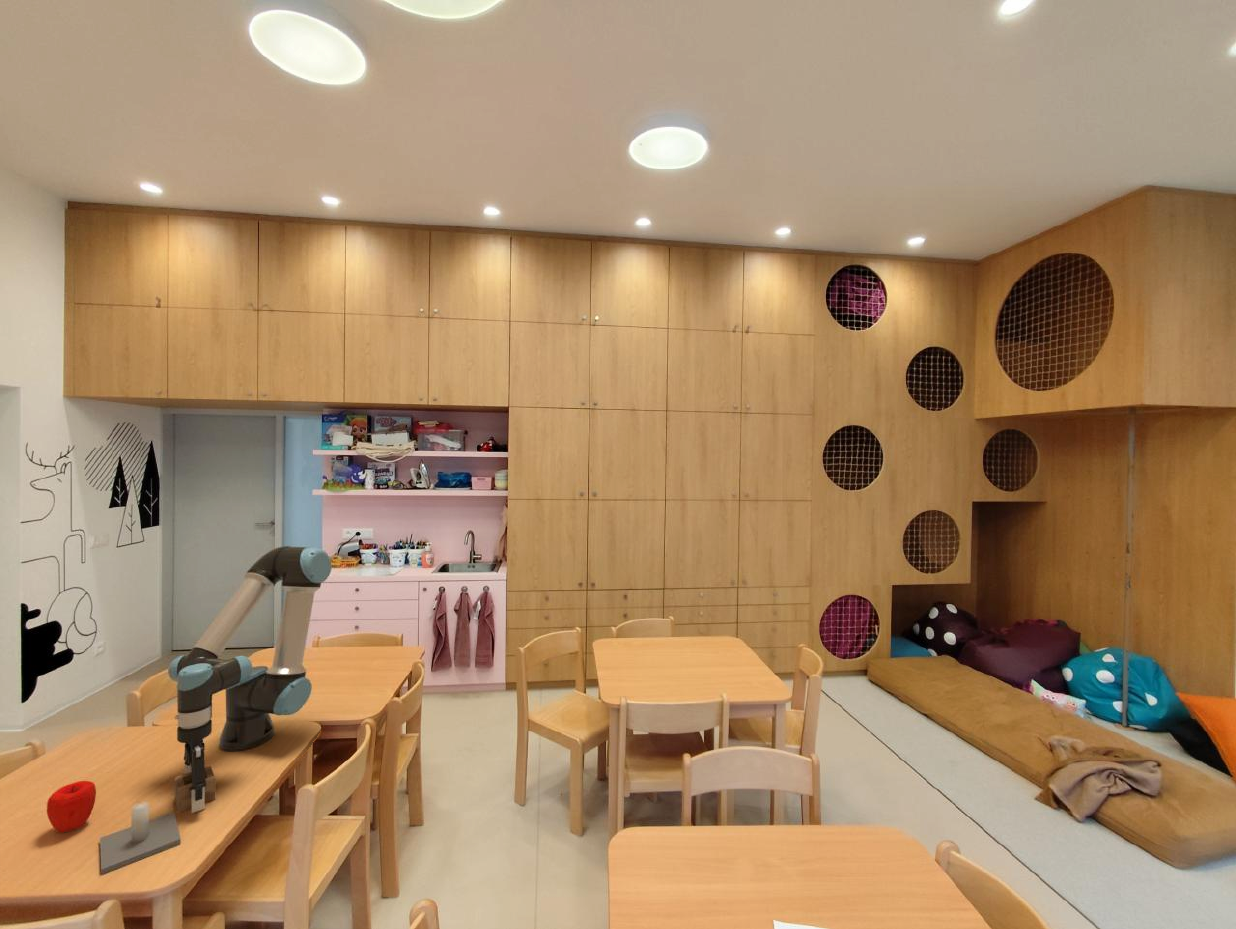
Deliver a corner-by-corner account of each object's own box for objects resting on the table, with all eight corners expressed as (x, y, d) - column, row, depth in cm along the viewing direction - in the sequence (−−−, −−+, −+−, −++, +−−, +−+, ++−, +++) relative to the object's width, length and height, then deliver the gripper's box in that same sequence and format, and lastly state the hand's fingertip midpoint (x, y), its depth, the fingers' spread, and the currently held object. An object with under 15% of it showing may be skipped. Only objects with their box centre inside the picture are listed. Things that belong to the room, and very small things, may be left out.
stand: (173, 816, 141) (173, 781, 141) (180, 843, 131) (180, 806, 131) (100, 842, 131) (100, 805, 131) (101, 874, 121) (101, 834, 121)
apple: (64, 842, 131) (64, 799, 131) (36, 838, 133) (36, 795, 132) (105, 818, 140) (105, 777, 140) (78, 814, 141) (78, 774, 141)
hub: (210, 786, 154) (210, 765, 154) (215, 799, 148) (215, 777, 148) (174, 798, 148) (174, 777, 148) (178, 812, 143) (178, 790, 142)
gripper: (172, 711, 154) (171, 784, 154) (183, 745, 136) (182, 827, 137) (204, 703, 159) (204, 773, 160) (219, 734, 142) (219, 814, 142)
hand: (194, 798), depth 148 cm, fingers open, 13 cm apart
